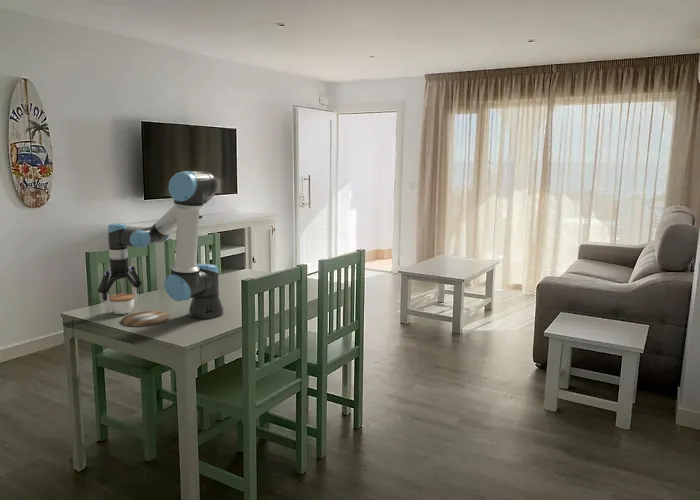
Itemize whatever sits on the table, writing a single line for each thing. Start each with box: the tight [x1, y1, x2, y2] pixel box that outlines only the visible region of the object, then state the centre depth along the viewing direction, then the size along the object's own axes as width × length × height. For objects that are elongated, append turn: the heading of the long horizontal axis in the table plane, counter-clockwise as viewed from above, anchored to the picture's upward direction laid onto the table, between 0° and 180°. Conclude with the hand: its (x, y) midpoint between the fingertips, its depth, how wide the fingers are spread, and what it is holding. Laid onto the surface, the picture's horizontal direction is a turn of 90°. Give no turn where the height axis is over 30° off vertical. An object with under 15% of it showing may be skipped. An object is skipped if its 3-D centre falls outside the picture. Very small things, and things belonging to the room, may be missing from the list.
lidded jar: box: [109, 292, 135, 315], centre depth 245 cm, size 11×11×9 cm
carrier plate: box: [121, 310, 170, 327], centre depth 236 cm, size 19×19×1 cm
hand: (121, 304), depth 246 cm, fingers open, 13 cm apart
